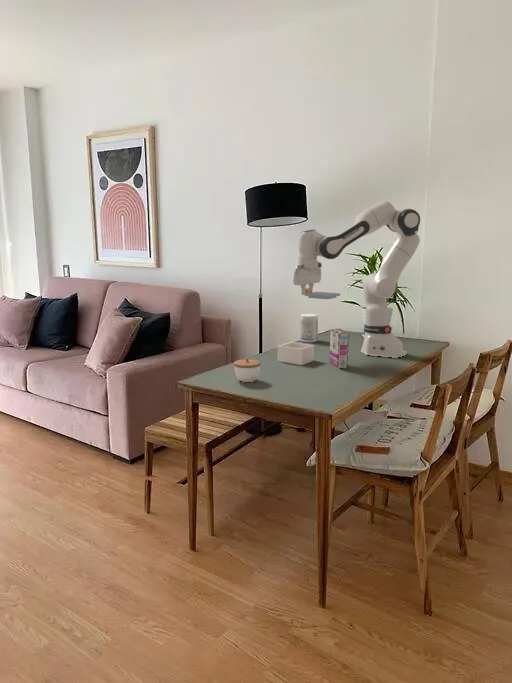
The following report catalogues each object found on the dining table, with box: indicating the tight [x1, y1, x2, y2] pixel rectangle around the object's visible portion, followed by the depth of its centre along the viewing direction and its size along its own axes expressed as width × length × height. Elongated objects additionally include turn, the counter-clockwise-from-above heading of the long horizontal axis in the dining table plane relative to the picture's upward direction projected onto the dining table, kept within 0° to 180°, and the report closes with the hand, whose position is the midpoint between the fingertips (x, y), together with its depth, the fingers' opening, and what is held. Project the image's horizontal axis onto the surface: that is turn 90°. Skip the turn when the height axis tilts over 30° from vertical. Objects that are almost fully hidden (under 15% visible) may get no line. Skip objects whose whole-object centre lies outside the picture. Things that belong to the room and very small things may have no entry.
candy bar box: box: [329, 328, 350, 370], centre depth 237 cm, size 11×5×16 cm, turn 12°
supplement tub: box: [300, 313, 319, 343], centre depth 294 cm, size 10×10×15 cm
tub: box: [276, 341, 315, 366], centre depth 246 cm, size 13×11×8 cm
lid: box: [301, 287, 341, 300], centre depth 253 cm, size 17×11×4 cm, turn 54°
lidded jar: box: [233, 357, 261, 383], centre depth 215 cm, size 11×11×9 cm
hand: (307, 293), depth 256 cm, fingers closed on lid, 3 cm apart
